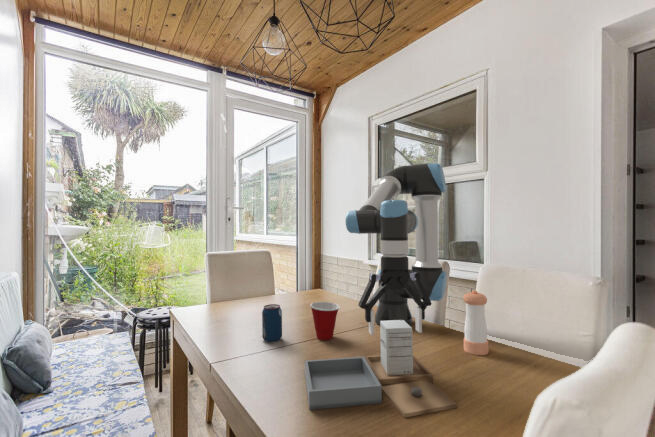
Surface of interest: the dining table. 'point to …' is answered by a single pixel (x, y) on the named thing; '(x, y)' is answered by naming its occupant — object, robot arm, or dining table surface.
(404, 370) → the supplement box
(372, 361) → the walnut tray
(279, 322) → the soda can
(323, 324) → the plastic cup
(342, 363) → the gray square tray
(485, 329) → the pepper shaker
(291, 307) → the dining table surface
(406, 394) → the tray lid
